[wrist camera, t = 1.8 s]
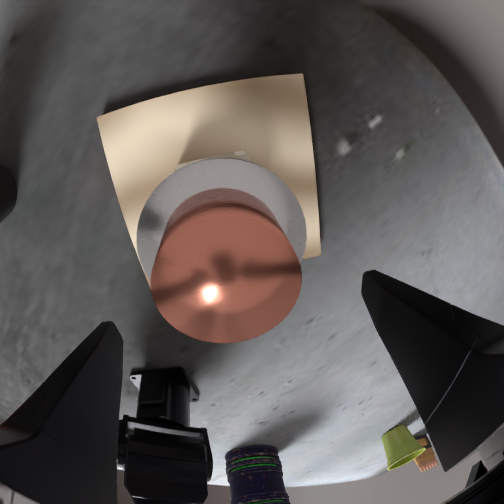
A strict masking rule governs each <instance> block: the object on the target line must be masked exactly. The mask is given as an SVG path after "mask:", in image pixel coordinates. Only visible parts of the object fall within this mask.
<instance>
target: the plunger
mask: <svg viewBox="0 0 504 504" xmlns="http://www.w3.org/2000/svg"><path fill="white" fill-rule="evenodd" d="M306 240H307V229H306V222H305V217H304V214H303V211H302V208H301V206H300V204H299V202H298V200H297V198H296V197H295V195H294V194H293V192H292V191H291V190H290V188H289V187H288V186H287V185H286V184H285V183H284V182H283V181H282V180H281V179H280V178H279V177H278V176H277V175H275V174H274V173H273V172H272V171H270V170H268V169H267V168H265V167H263V166H262V165H259V164H257V163H255V162H252V161H249V160H246V159H242V158H237V157H229V156H217V157H209V158H203V159H199V160H196V161H193V162H190V163H188V164H186V165H183V166H181V167H180V168H178V169H176V170H175V171H173V172H172V173H170V174H169V175H168V176H167V177H166V178H164V179H163V180H162V181H161V182H160V183H159V184H158V186H157V187H156V188H155V189H154V191H153V192H152V194H151V195H150V197H149V198H148V200H147V201H146V203H145V205H144V207H143V209H142V212H141V214H140V218H139V221H138V226H137V250H138V255H139V258H140V262H141V264H142V267H143V269H144V271H145V273H146V274H147V276H148V278H149V279H150V281H151V292H152V296H153V299H154V302H155V305H156V306H157V308H158V310H159V312H160V313H161V315H162V316H163V317H164V318H165V319H166V320H167V321H168V323H169V324H171V325H172V326H173V327H174V328H176V329H177V330H179V331H180V332H182V333H184V334H186V335H188V336H190V337H193V338H195V339H198V340H202V341H206V342H213V343H234V342H241V341H245V340H249V339H252V338H255V337H257V336H259V335H262V334H264V333H266V332H267V331H269V330H271V329H272V328H274V327H275V326H276V325H278V324H279V323H280V322H281V321H282V320H283V319H284V318H285V317H286V316H287V315H288V314H289V312H290V311H291V309H292V308H293V306H294V305H295V303H296V301H297V298H298V296H299V293H300V289H301V283H302V272H301V266H300V263H301V261H302V259H303V255H304V252H305V247H306Z"/></svg>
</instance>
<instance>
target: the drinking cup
mask: <svg viewBox="0 0 504 504" xmlns="http://www.w3.org/2000/svg"><path fill="white" fill-rule="evenodd" d="M15 203H16V187H15V183H14V180H13V178H12V176H11V174H10V172H9V171H8V170H7V169H6V168H5V167H3V166H1V165H0V223H1V222H2V221H3V220H4V219H5V218H6V217H7V216H8V215H9V214H10V213H11V212H12V210H13V208H14V206H15Z"/></svg>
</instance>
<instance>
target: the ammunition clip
mask: <svg viewBox="0 0 504 504" xmlns="http://www.w3.org/2000/svg"><path fill="white" fill-rule="evenodd" d="M414 438H415V439H416V440H417V442H418V443H419V444H421V445H422V447H425V451H424V452H423V453H421V454H420V455H419V456H417V457H416V458H414V461H415V462H416V464H417V465H418V467H419V469H420V470H421V471H422V472H423V469H424V470H425V471H426V468H427V469H429V467H430V468H432V466H433V467H435V465H436V466H437V460H436V458H435V455H434V452H433V450H432V448H431V447H432V446H431V444H430V442H429V440H428V437H427V435H426V434H425V435H421V436H416V437H414Z"/></svg>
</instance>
